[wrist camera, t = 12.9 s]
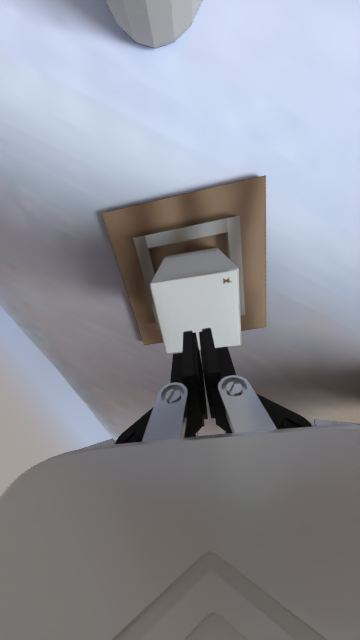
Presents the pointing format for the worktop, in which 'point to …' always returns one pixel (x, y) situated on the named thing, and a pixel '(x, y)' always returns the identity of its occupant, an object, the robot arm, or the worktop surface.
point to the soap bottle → (154, 19)
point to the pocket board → (193, 244)
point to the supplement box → (197, 298)
